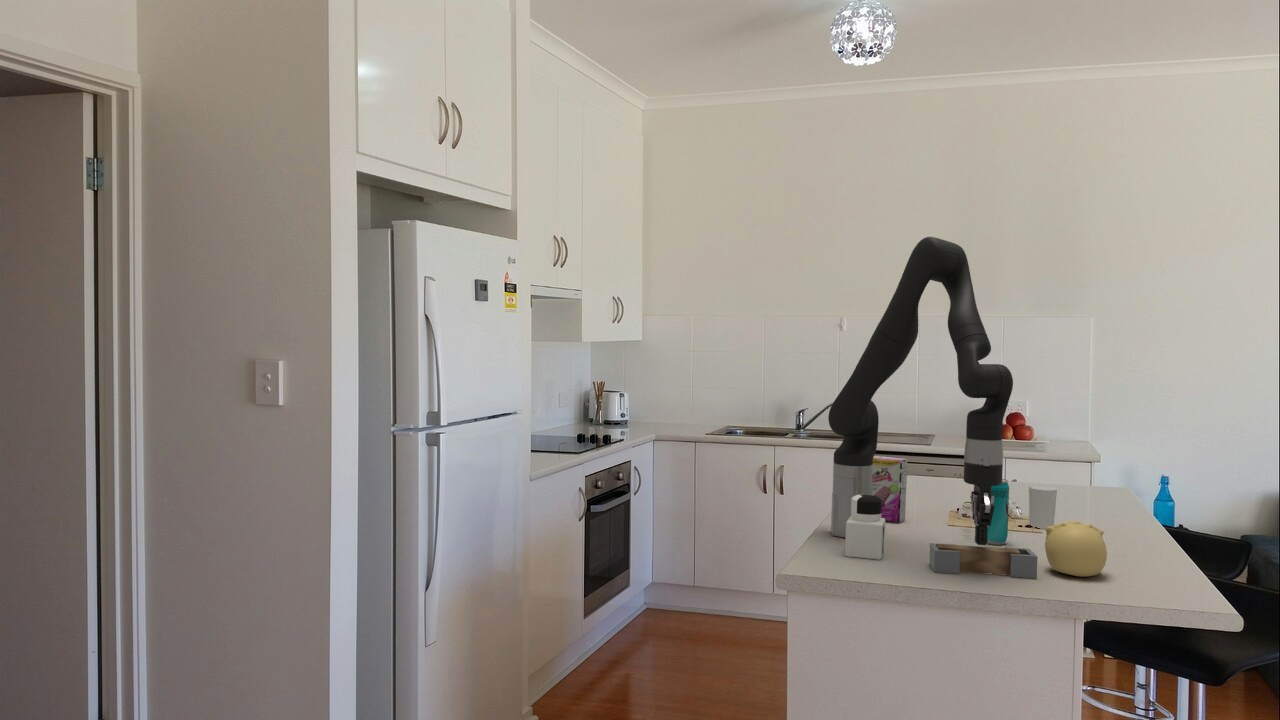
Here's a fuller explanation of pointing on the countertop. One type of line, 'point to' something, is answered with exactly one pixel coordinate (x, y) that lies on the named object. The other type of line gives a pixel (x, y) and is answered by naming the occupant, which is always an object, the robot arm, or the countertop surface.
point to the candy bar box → (890, 486)
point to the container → (865, 528)
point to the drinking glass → (1042, 506)
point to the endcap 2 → (1023, 564)
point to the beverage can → (999, 515)
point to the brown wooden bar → (982, 558)
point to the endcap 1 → (944, 560)
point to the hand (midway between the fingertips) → (980, 544)
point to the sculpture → (1075, 548)
